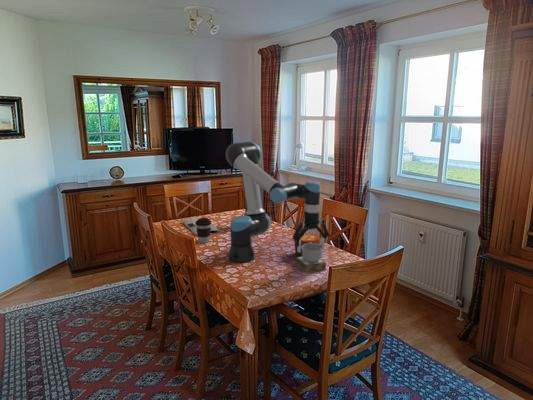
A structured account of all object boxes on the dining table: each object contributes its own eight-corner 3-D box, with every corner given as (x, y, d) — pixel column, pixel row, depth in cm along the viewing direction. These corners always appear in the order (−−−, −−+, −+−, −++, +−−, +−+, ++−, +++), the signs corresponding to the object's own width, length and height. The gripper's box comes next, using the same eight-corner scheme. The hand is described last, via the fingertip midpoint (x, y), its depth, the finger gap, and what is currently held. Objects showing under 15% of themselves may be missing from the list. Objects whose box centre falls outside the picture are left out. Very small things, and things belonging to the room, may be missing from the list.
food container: (294, 249, 223) (294, 232, 221) (320, 251, 221) (321, 233, 218) (291, 259, 208) (291, 240, 206) (320, 260, 205) (320, 242, 203)
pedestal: (304, 272, 189) (305, 265, 188) (295, 264, 200) (295, 256, 199) (325, 269, 193) (325, 262, 192) (315, 261, 204) (315, 254, 203)
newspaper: (181, 223, 280) (181, 219, 280) (206, 220, 289) (206, 216, 288) (196, 236, 248) (195, 232, 248) (223, 232, 257) (223, 228, 256)
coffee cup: (207, 244, 231) (206, 221, 228) (193, 243, 234) (192, 220, 231) (214, 240, 240) (213, 217, 237) (201, 238, 243) (200, 216, 240)
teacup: (321, 265, 188) (321, 250, 187) (300, 263, 191) (300, 248, 189) (322, 255, 202) (323, 241, 200) (302, 253, 204) (303, 240, 202)
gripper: (292, 215, 183) (291, 255, 187) (336, 211, 191) (335, 250, 195) (286, 211, 189) (286, 250, 194) (329, 207, 198) (328, 245, 202)
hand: (310, 250), depth 195 cm, fingers open, 13 cm apart
